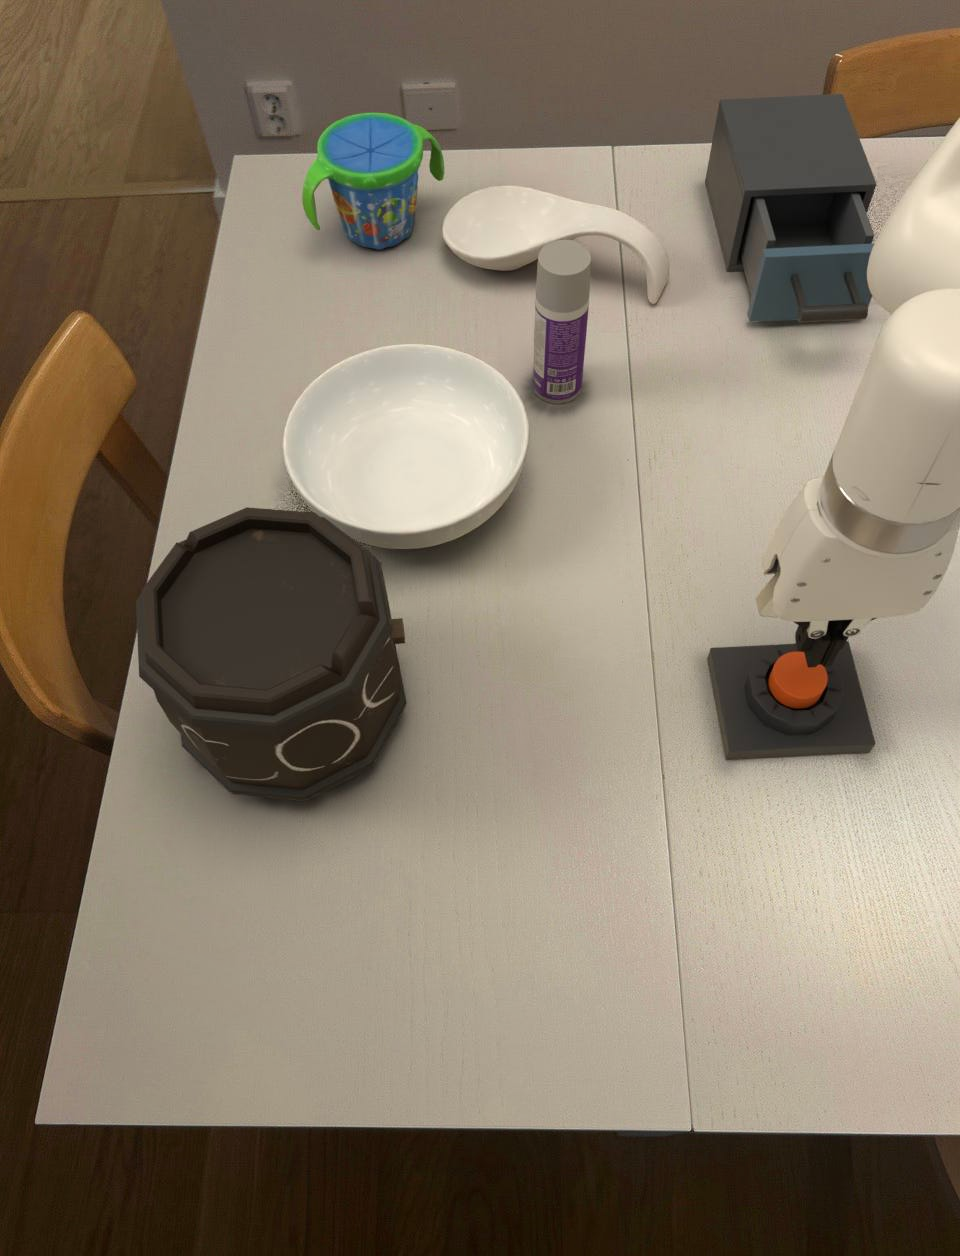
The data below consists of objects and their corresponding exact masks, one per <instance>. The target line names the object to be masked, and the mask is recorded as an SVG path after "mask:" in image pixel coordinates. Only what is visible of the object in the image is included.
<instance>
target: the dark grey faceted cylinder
mask: <svg viewBox="0 0 960 1256" xmlns="http://www.w3.org/2000/svg"><path fill="white" fill-rule="evenodd" d="M386 586H387V585H386V581H385V575H384V571H383V565H382V563H381V561H380V560H379V559H378V557H377V556H375V555H373V554H372V553H371V552H370V551H369V550H367V549H366V548H365V547H364V546H362V545H361V544H360V543H358V541H356V540H354V539H352V538H350V537H349V536H348V535H346V534H345V533H344V532H343V531H341V530H340V529H339V528H337V527H336V526H335V525H333V524H332V523H331V522H330V521H328V520H327V519H326V518H324V517H320V516H318V515H317V514H316V513H314V512H313V511H300V510H287V509H271V508H261V507H260V508H259V507H249V506H248V507H244V508H242V509H240V510H238V511H235V512H232V513H230V514H228V515H226V516H223V517H221V518H219V519H217V520H215V521H211V522H210V523H207V524H205V525H203V526H201V527H197V528H196V529H194V530H191V531H189V533H188V535H187V537H186V539H183V540H182V541H179V542H176V543H174V545H173V547H172V548H171V549H170V550H169V552H168V553H167V555H165V557H164V559H163V560H162V561H161V563H160V564H159V566H158V567H157V568H156V569H155V570H154V573H153V574H152V575H151V576H150V578H149V579H148V581H147V582H146V583H145V584H144V586H143V587H142V588H141V594H140V595H139V597H138V598H137V599H136V601H135V610H136V611H135V613H136V614H135V615H136V633H137V634H136V635H137V659H138V660H137V661H138V678H140V679H141V680H142V681H143V682H144V683H145V684H147V685H148V686H149V688H150V689H152V690H153V692H154V696H155V698H156V701H157V703H158V705H159V706H160V708H161V710H162V711H163V712H164V715H165V716H166V718H167V719H168V721H169V723H170V724H171V725H172V726H173V727H174V728H175V729H176V730H177V731H178V732H179V733H180V741H181V742H180V744H181V747H182V748H183V749H184V750H185V751H186V752H187V753H188V754H189V755H190V756H191V757H192V758H193V759H195V760H196V761H197V762H198V763H199V764H200V765H201V766H202V767H203V768H204V769H205V770H206V771H208V773H209V774H210V775H212V777H213V778H214V779H216V781H218V783H220V784H221V786H222V787H224V789H226V790H227V791H228V792H229V793H231V794H233V795H239V796H249V797H260V798H270V799H280V800H281V799H282V800H289V801H300V802H307V801H309V800H312V799H313V798H315V797H317V796H319V795H321V794H323V793H325V792H327V791H328V790H329V791H330V789H333V788H335V787H336V786H339V785H340V784H343V783H344V782H346V781H348V780H350V779H352V778H354V777H356V776H358V775H360V774H361V773H363V772H366V771H368V770H369V769H371V768H373V766H374V765H375V763H376V761H377V759H378V757H379V755H380V754H381V752H382V750H383V748H384V746H385V745H386V743H387V741H388V740H389V737H390V736H391V734H392V732H393V730H394V728H395V726H396V725H397V723H398V721H399V719H400V718H401V716H402V713H403V711H404V709H405V708H406V706H407V698H406V693H405V687H404V683H403V682H404V681H403V676H402V671H401V667H400V661H399V660H400V659H399V657H398V650H397V645H402V644H403V645H404V644H406V635H405V626H404V625H405V624H404V618H403V617H401V618H393V617H392V612H391V607H390V602H389V599H388V597H389V596H388V592H387V587H386Z"/></svg>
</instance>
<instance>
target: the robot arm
mask: <svg viewBox="0 0 960 1256" xmlns="http://www.w3.org/2000/svg"><path fill="white" fill-rule="evenodd" d="M867 281H868V286H869V289H870V292H871V294H872V299H874V300H875V301H876V303H877V304H878V305H879V306H880V307H882V309H884V310H885V311H886V313H889V314H890V315H889V317H888V318H887V319H886V321H885V322H884V324H883V325H882V327H881V329H880V332H879V334H878V336H877V338H876V340H875V343H874V346H873V348H872V351H871V353H870V357H869V359H868V362H867V364H866V366H865V369H864V372H863V374H862V377H861V380H860V382H859V385H858V387H857V390H856V393H855V395H854V398H853V400H852V403H851V405H850V407H849V409H848V410H849V411H848V412H847V415H846V418H845V421H844V424H843V426H842V429H841V431H840V433H839V436H838V439H837V441H836V444H835V446H834V449H833V452H832V455H831V457H830V460H829V462H828V465H827V467H826V470H825V472H824V475H823V476H819V477H814V478H811V479H809V480H808V482H806V484H805V485H804V486H803V487H802V488H801V489H800V490H799V491H798V493H797V494H796V496H795V497H794V498H793V500H792V501H791V503H790V504H789V506H788V507H787V509H786V510H785V512H784V513H783V515H782V517H781V518H780V521H779V522H778V524H777V527H776V528H775V530H774V532H773V534H772V536H771V539H770V541H769V542H768V545H767V547H766V550H765V552H764V554H763V558H762V573H763V575H765V576H767V575H773V576H772V577H771V578H770V580H769V581H768V582H767V584H766V585H765V586H764V587H763V588H762V590H761V591H760V592H759V593H758V595H757V596H756V598H755V601H756V606H757V610H758V615H759V617H763V618H775V619H780V620H783V621H785V622H786V621H787V622H791V623H794V624H795V625H797V628H796V630H795V632H794V633H795V634H794V638H795V639H794V640H795V644H796V645H797V649H798V651H799V652H803V651H804V654H805V658H806V662H807V666H808V667H817V665H819V664H820V665H823V667H827V666H832V664H833V662H834V660H835V658H836V656H837V654H838V652H839V651H840V649H842V648H843V647H844V645H845V643H846V641H848V639H849V638H850V637H856V636H859V634H861V633H862V632H863V630H865V628H866V627H867V626H868V625H869V623H870V622H872V621H874V620H876V619H879V618H880V619H881V618H894V617H901V616H907V615H908V616H909V615H912V614H915V613H917V612H919V611H920V610H922V609H923V608H924V607H925V606H926V605H927V604H928V603H929V601H930V600H931V599H932V598H933V596H934V595H935V593H936V591H938V588H939V586H940V584H941V582H942V581H943V578H944V576H945V575H946V572H947V570H948V568H949V565H950V563H951V560H952V559H953V558H952V557H953V555H954V551H955V550H956V549H955V548H956V544H957V541H958V536H959V532H960V117H959V118H958V119H957V120H956V121H955V122H954V124H953V126H952V127H951V128H950V129H949V130H948V132H947V133H946V135H945V136H944V138H943V139H942V140H941V142H940V143H939V145H938V146H937V147H936V149H935V150H934V151H933V153H932V154H931V156H930V157H929V158H928V160H927V161H926V162H925V164H924V165H923V167H922V168H921V170H920V171H919V172H918V173H917V175H916V176H915V178H914V179H913V180H912V182H911V183H910V184H909V186H908V187H907V189H906V190H905V191H904V193H903V195H902V196H901V197H900V199H899V201H898V202H897V203H896V204H895V206H894V208H893V210H892V211H891V213H890V214H889V215H888V217H887V219H886V221H885V223H884V224H883V226H882V228H881V229H880V231H879V233H878V235H877V237H876V239H875V241H874V246H873V248H872V251H871V254H870V257H869V262H868V267H867Z"/></svg>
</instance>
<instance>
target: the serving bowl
mask: <svg viewBox="0 0 960 1256" xmlns="http://www.w3.org/2000/svg"><path fill="white" fill-rule="evenodd" d="M285 422H286V423H285V426H284V429H283V435H282V453H283V454H282V455H283V461H284V465H285V469H286V471H287V474H288V477H289V479H290V481H291V483H292V484H293V486H294V488H295V490H296V491H297V493H298V495H299V496H300V498H301V500H302V501H303V502H304V503H305V505H306V506H307V508H309V509H310V511H311V512H313V513H316V514H317V515H318V516H320V517H324V518H326V519H327V520H328V521H330V522H331V523H332V524H333V525H335V526H336V527H337V528H339V529H340V530H341V531H343V532H344V533H345V534H346V535H348V536H349V537H350V538H352V539H353V540H354V541H355V542H359V543H362V544H365V545H368V546H373V547H377V548H383V549H393V550H413V549H414V550H415V549H424V548H429V547H434V546H438V545H443V544H445V543H448V542H452V541H454V540H457V539H458V538H460V537H462V536H465V535H466V534H469V533H470V532H472V531H474V530H475V529H477V528H478V527H480V526H482V524H484V523H485V522H487V521H488V520H489V519H491V517H492V516H494V515H495V513H497V511H498V510H499V509H500V508H502V506H503V505H504V503H505V502H506V501H507V500H508V498H509V497H510V496H511V494H512V492H513V491H514V489H515V487H516V485H517V483H518V481H519V479H520V477H521V475H522V471H523V469H524V466H525V463H526V458H527V453H528V449H529V444H530V443H529V442H530V424H529V423H530V422H529V418H528V414H527V410H526V407H525V405H524V403H523V400H522V398H521V396H520V395H519V393H518V391H517V390H516V388H515V387H514V386H513V385H512V383H511V382H510V381H509V380H508V379H507V378H506V377H505V376H504V375H503V374H502V373H501V372H499V370H497V369H496V368H495V367H494V366H492V365H490V364H489V363H487V362H485V361H484V360H482V359H481V358H478V357H476V356H474V355H473V354H472V355H471V354H469V353H467V352H463V351H460V350H458V349H454V348H450V347H446V346H441V345H435V344H434V345H433V344H426V343H403V344H393V345H385V346H380V347H376V348H372V349H368V350H365V351H362V352H359V353H357V354H354V355H352V356H349V357H347V358H345V359H343V360H341V361H339V362H338V363H336V364H334V365H332V366H331V367H330V368H328V369H327V370H325V371H324V372H322V373H321V374H319V376H318V377H316V378H315V379H314V380H313V381H311V382H310V384H309V385H308V386H307V387H305V389H304V390H303V391H302V392H301V394H300V395H299V397H297V399H296V401H295V403H294V404H293V406H292V408H291V410H290V412H289V414H288V417H287V420H286V421H285Z"/></svg>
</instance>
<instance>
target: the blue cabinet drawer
mask: <svg viewBox="0 0 960 1256" xmlns="http://www.w3.org/2000/svg"><path fill="white" fill-rule="evenodd" d="M874 238H875V233H874V230H873V227H872V225H871V221H870V218H869V216H868V212H867V213H866V210H865V208H864V205H863V202H862V199H861V197H860V194H859V192H841V193H820V194H799V195H779V196H758V197H751V201H750V205H749V210H748V214H747V219H746V223H745V228H744V232H743V236H742V241H741V245H740V250H739V252H740V256H741V260H742V264H743V267H744V271H743V272H744V275H745V279H746V282H747V283H746V284H747V287H748V291H749V294H750V300H749V301H750V302H749V305H748V309H747V318H748V322H750V323H754V322H755V323H757V322H775V321H777V322H778V321H798V323H816V322H817V323H818V322H819V323H821V322H837V321H838V322H839V321H859V320H866V319H867V318H868V315H869V314H868V313H869V307H870V304H871V301H872V299H873V296H872V294H871V292H870V289H869V286H868V281H867V267H868V262H869V257H870V254H871V251H872V248H873V246H874V243H875V242H874V243H873V241H874Z"/></svg>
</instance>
